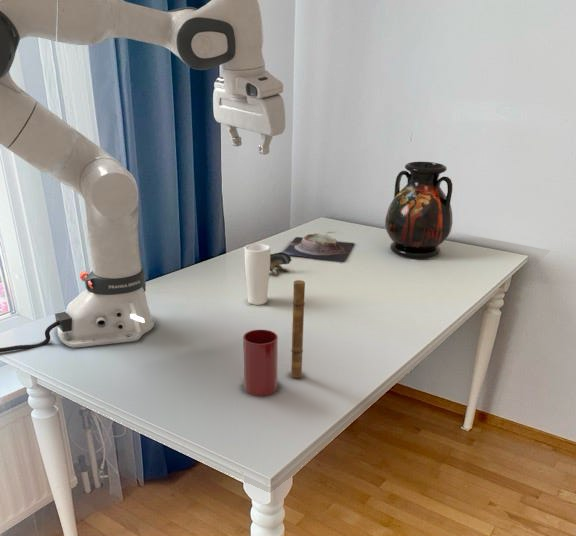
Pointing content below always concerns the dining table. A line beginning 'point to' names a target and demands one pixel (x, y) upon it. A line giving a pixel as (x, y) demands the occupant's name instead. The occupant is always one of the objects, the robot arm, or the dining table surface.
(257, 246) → the drinking glass
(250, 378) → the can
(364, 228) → the dining table surface
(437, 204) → the amphora vase
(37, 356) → the dining table surface
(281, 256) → the eagle figurine
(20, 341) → the dining table surface
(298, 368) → the tan rod with ring
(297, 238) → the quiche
